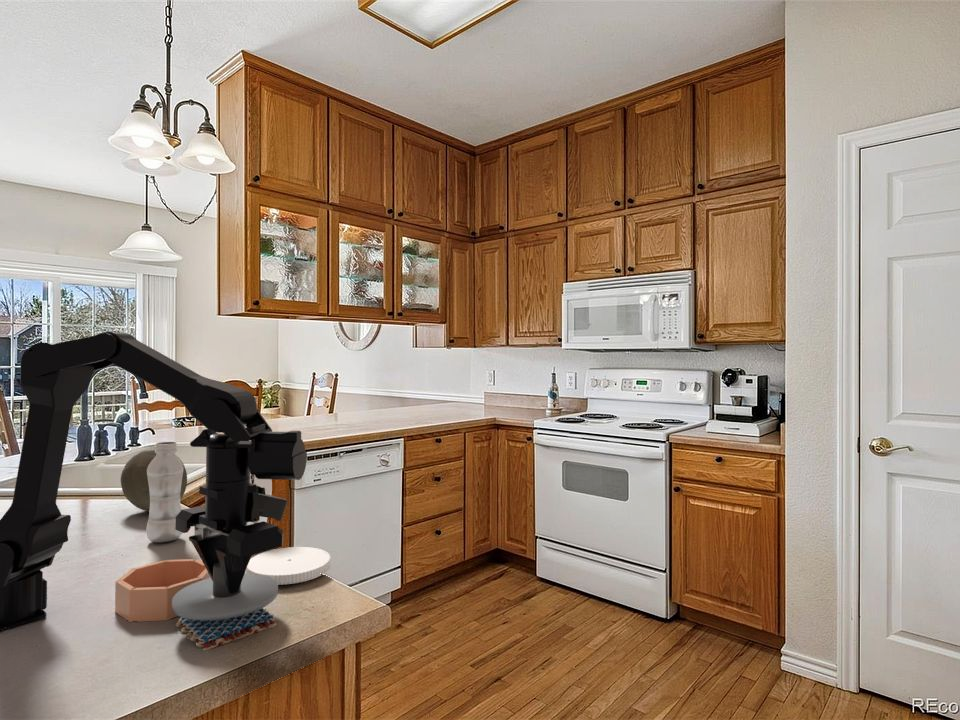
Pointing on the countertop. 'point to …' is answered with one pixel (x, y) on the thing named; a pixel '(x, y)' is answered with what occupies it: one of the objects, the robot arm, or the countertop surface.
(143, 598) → the bowl
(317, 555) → the plastic lid
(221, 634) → the woven mat
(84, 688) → the countertop surface
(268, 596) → the cover
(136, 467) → the cantaloupe
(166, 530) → the plastic bottle
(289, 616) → the countertop surface
